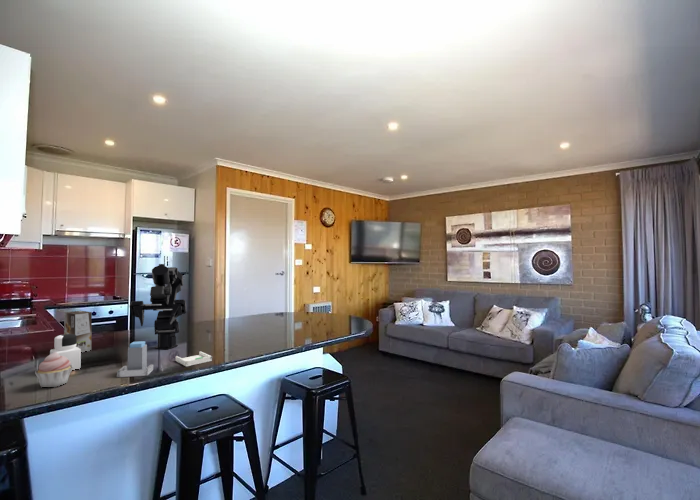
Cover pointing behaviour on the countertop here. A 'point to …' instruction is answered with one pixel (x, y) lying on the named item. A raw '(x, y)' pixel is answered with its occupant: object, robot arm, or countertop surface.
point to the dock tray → (194, 359)
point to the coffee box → (79, 328)
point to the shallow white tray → (134, 371)
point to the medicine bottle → (68, 349)
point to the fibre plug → (137, 355)
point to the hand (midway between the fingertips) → (155, 324)
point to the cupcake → (54, 370)
